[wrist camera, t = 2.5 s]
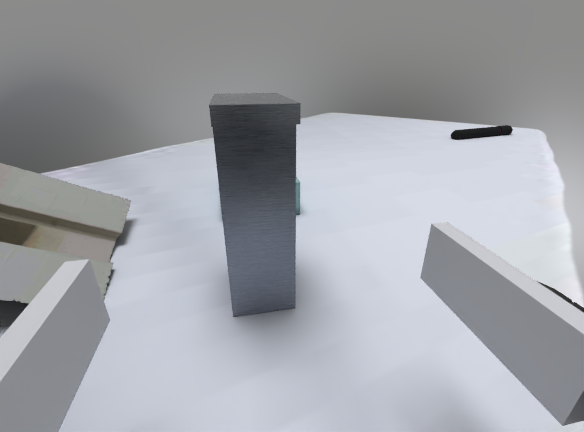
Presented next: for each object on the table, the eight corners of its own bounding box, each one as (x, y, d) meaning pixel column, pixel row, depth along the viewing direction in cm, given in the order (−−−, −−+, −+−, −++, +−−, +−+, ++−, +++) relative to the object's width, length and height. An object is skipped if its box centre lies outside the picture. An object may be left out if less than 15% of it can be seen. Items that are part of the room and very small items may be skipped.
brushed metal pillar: (233, 327, 20) (209, 105, 14) (231, 261, 27) (214, 93, 21) (298, 318, 21) (300, 103, 15) (279, 256, 28) (276, 93, 22)
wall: (96, 248, 37) (-70, 183, 29) (134, 197, 35) (-34, 111, 27) (43, 381, 24) (-287, 332, 16) (99, 313, 22) (-253, 215, 14)
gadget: (458, 131, 75) (515, 126, 82) (450, 129, 77) (506, 124, 84) (456, 141, 76) (512, 135, 83) (448, 139, 78) (503, 134, 85)
